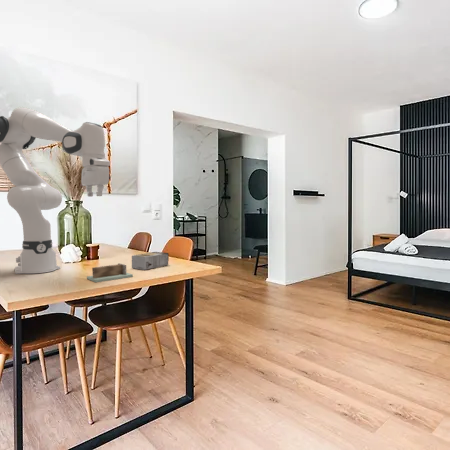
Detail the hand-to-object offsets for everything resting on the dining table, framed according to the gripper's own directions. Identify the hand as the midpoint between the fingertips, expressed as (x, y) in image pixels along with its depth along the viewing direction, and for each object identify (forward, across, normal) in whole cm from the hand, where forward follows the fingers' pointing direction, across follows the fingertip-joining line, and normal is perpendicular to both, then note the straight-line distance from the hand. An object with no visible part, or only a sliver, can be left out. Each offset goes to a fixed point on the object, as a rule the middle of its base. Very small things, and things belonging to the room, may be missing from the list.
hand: (94, 196), depth 148 cm
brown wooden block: (+33, +4, +3) cm, 33 cm away
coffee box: (+31, -5, +22) cm, 38 cm away
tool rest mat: (+34, +5, +4) cm, 34 cm away
